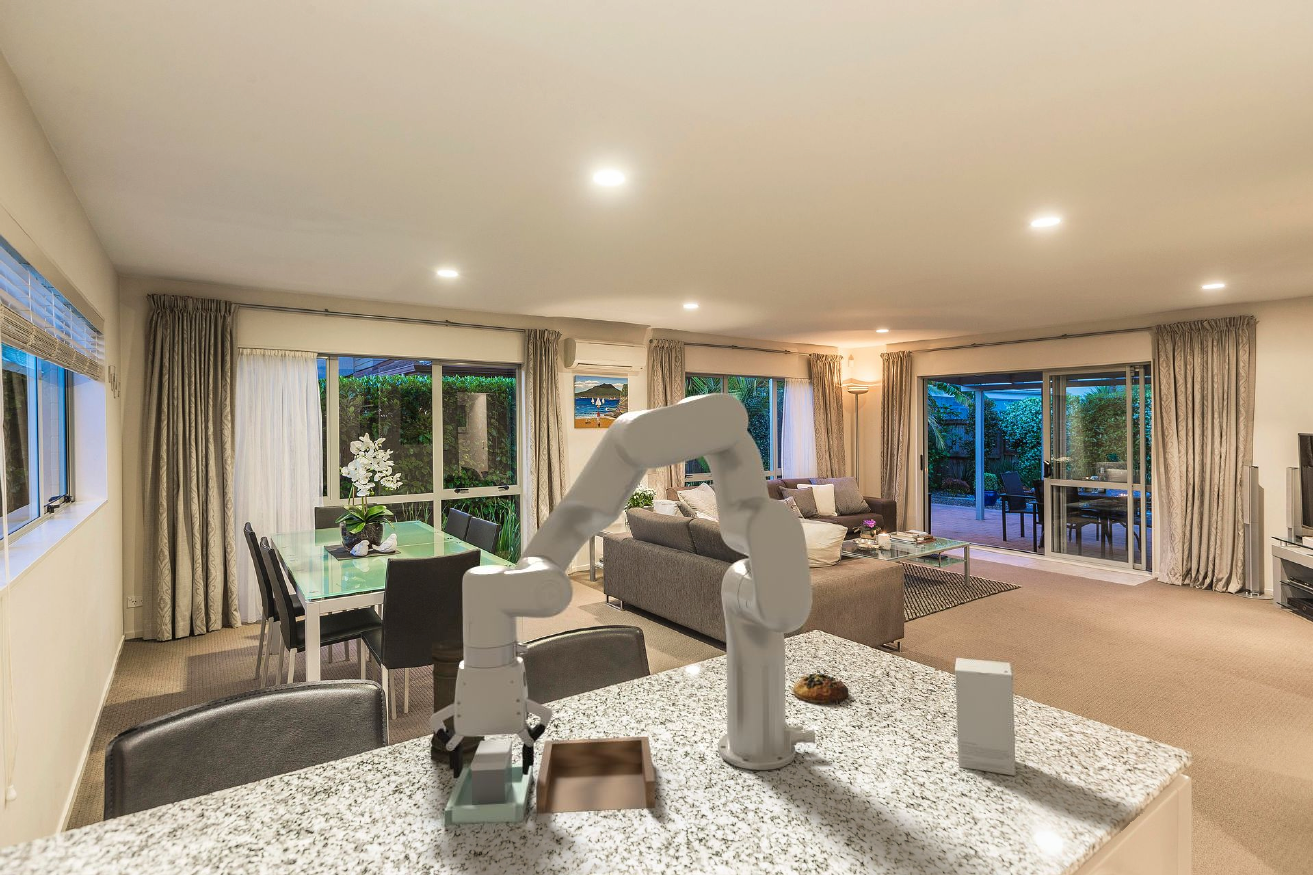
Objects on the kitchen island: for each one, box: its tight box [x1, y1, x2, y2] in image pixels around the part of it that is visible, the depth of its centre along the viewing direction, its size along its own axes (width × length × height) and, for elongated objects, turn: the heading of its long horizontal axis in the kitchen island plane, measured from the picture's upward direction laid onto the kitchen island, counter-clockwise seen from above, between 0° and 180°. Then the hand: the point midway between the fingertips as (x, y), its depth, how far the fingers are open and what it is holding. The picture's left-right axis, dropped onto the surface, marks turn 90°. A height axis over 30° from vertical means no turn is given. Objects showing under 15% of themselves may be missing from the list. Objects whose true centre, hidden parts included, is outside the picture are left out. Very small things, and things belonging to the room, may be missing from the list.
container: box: [429, 636, 486, 765], centre depth 114 cm, size 9×9×18 cm
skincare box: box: [954, 657, 1017, 776], centre depth 108 cm, size 8×7×16 cm
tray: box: [444, 763, 534, 827], centre depth 99 cm, size 10×12×2 cm
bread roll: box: [791, 672, 849, 705], centre depth 138 cm, size 11×11×5 cm
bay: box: [535, 736, 656, 815], centre depth 102 cm, size 16×14×4 cm
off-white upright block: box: [470, 739, 513, 805], centre depth 99 cm, size 5×7×6 cm, turn 4°
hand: (492, 771), depth 99 cm, fingers open, 9 cm apart
